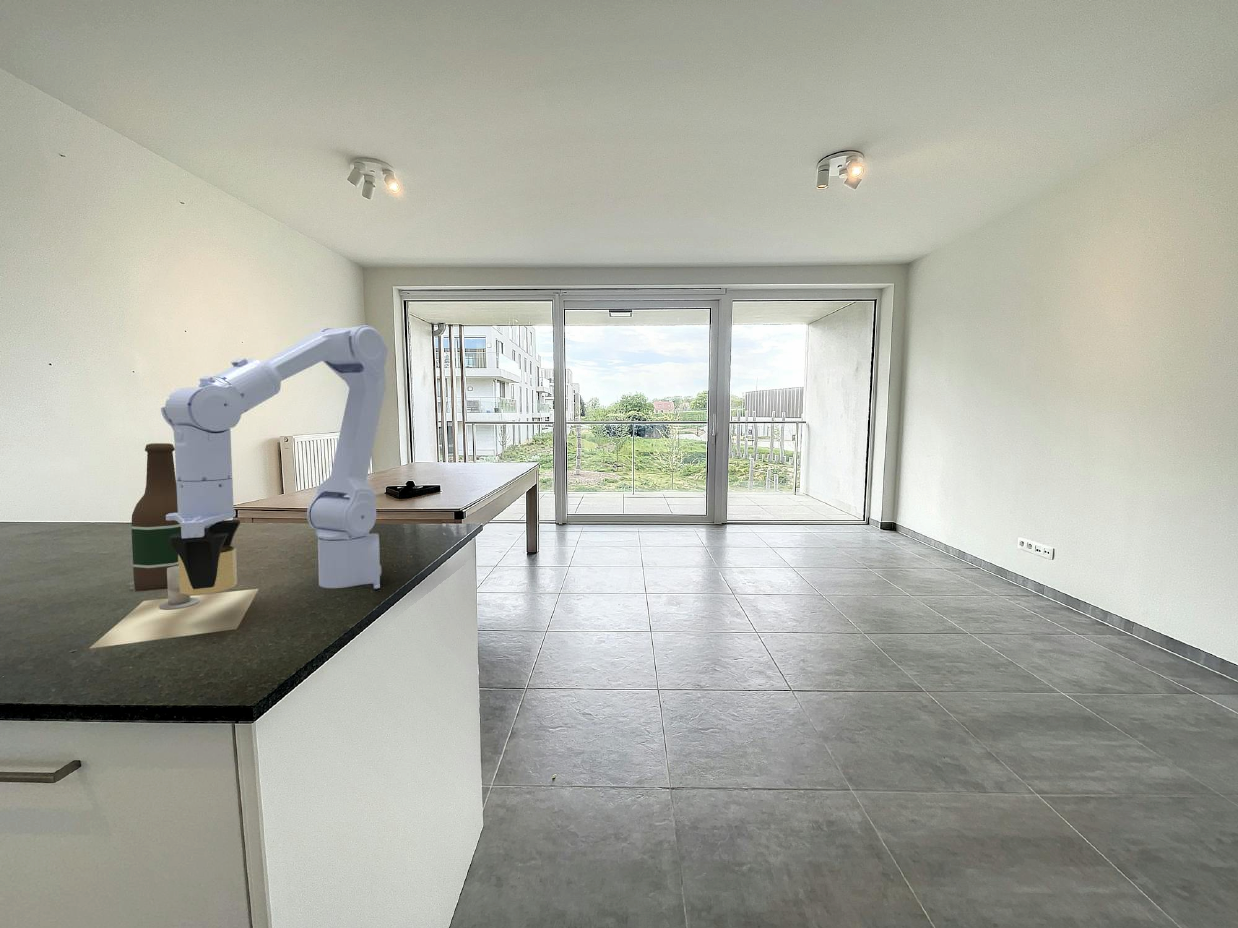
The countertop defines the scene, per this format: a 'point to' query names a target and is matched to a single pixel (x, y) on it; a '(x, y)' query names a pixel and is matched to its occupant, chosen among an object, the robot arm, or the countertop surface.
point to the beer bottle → (155, 521)
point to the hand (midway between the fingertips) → (209, 580)
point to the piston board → (179, 615)
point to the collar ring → (224, 574)
